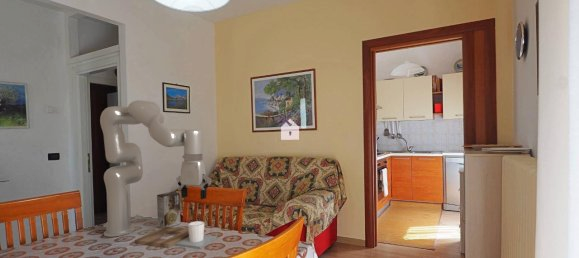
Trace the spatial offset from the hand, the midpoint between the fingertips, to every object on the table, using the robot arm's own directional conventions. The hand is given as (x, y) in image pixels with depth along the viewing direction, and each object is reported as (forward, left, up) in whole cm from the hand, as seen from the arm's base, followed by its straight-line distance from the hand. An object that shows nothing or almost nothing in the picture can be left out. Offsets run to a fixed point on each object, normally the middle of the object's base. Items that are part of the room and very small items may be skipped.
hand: (193, 198), depth 124 cm
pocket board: (-15, 0, -19) cm, 24 cm away
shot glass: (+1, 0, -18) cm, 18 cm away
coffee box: (-27, +15, -19) cm, 36 cm away
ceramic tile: (+1, 0, -19) cm, 19 cm away
